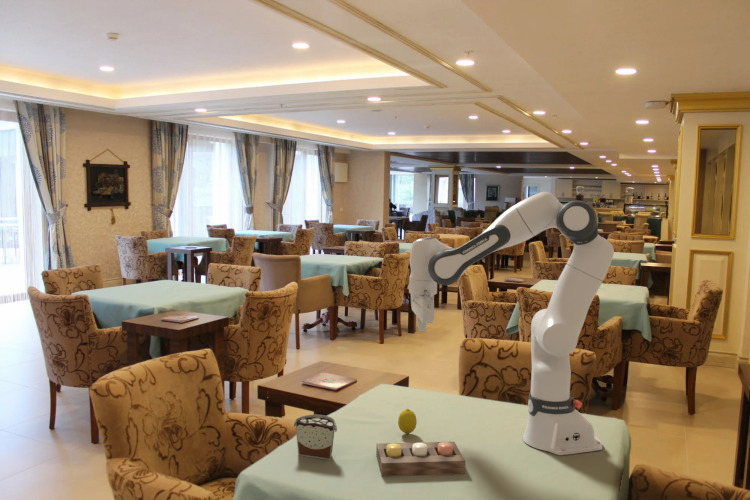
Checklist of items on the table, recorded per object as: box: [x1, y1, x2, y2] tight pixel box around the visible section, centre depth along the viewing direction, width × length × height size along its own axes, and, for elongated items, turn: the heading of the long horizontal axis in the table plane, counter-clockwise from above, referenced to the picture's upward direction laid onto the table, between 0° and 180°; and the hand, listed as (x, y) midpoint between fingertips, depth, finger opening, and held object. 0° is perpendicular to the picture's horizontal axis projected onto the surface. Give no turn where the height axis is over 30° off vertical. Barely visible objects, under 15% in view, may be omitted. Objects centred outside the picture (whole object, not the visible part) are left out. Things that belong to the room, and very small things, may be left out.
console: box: [375, 441, 466, 477], centre depth 159 cm, size 22×12×4 cm, turn 96°
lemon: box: [397, 408, 418, 435], centre depth 178 cm, size 6×6×8 cm
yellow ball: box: [386, 442, 402, 457], centre depth 158 cm, size 4×4×4 cm
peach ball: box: [438, 441, 453, 456], centre depth 159 cm, size 4×4×4 cm
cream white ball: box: [412, 442, 427, 456], centre depth 159 cm, size 4×4×4 cm
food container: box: [293, 414, 338, 461], centre depth 164 cm, size 12×6×10 cm, turn 74°
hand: (421, 330), depth 189 cm, fingers closed
